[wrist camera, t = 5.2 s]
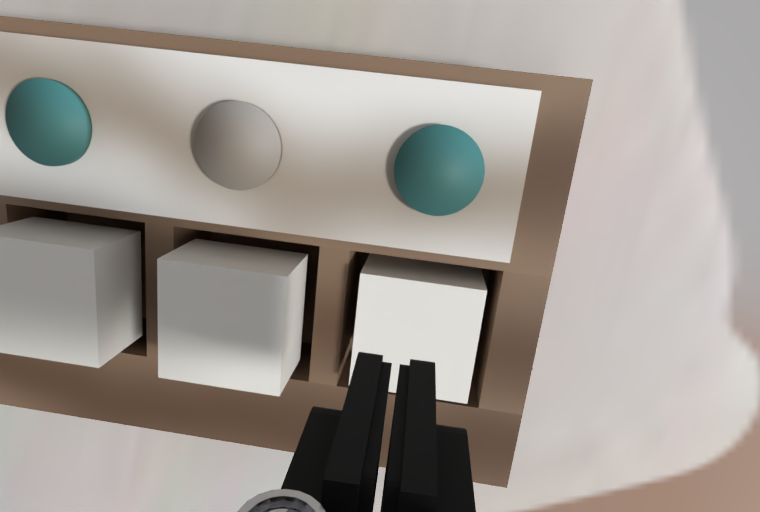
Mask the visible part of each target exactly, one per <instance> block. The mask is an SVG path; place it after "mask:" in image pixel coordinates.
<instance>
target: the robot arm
mask: <svg viewBox="0 0 760 512" xmlns="http://www.w3.org/2000/svg"><path fill="white" fill-rule="evenodd" d="M391 367H392V363H388V362H383V355H379V354H372V353H364V352H358V355H357V359H356V363H355V366H354V370H353V373H352V377H351V380H350V384H349V388H348V391H347V395H346V398H345V402H344V406H343V409H342V410H337V409H330V408H323V407H316V406H313V407H312V409H311V411H310V414H309V416H308V419H307V422H306V424H305V427H304V429H303V432H302V435H301V437H300V440H299V443H298V445H297V448H296V451H295V453H294V456H293V459H292V461H291V464H290V466H289V469H288V472H287V474H286V477H285V480H284V482H283V485H282V488H281V489H279V490H271V491H267V492H264V493H261V494H258V495H257V496H255V497H253V498H252V499H250V500H248V501H247V502H246V503H245V504H244V505H243V506H242V507H241V508H240V509H239V510H238V512H373V505H374V498H375V490H376V483H377V476H378V468H379V461H380V453H381V445H382V437H383V429H384V421H385V414H386V406H387V398H388V390H389V382H390V375H391ZM381 512H476V509H475V500H474V491H473V481H472V472H471V463H470V454H469V444H468V435H467V430H466V429H465V428H459V427H452V426H445V425H438V424H436V374H435V362H428V361H421V360H414V359H410V364H409V365H402V364H400V367H399V374H398V382H397V389H396V397H395V404H394V412H393V419H392V427H391V434H390V442H389V449H388V457H387V464H386V472H385V480H384V488H383V496H382V505H381Z"/></svg>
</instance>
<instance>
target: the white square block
mask: <svg viewBox="0 0 760 512" xmlns="http://www.w3.org/2000/svg"><path fill="white" fill-rule="evenodd" d="M486 295H487V288H486V284H485V281H484V277H483V273H482V270H481V268H477V267H469V266H462V265H455V264H447V263H440V262H432V261H425V260H418V259H410V258H403V257H395V256H388V255H381V254H373V253H370V254H369V256H368V258H367V260H366V262H365V264H364V266H363V269H362V271H361V273H360V280H359V290H358V299H357V309H356V319H355V328H354V338H353V347H352V357H351V366H350V376H349V384H350V380H351V377H352V373H353V370H354V366H355V363H356V359H357V355H358V352H364V353H372V354H379V355H383V362H388V363H392V367H391V375H390V382H389V390H388V392H393V393H396V389H397V382H398V374H399V367H400V364H402V365H409V364H410V359H414V360H421V361H428V362H435V374H436V399H439V400H445V401H451V402H458V403H464V404H467V403H468V397H469V392H470V386H471V380H472V375H473V369H474V363H475V358H476V352H477V346H478V341H479V335H480V329H481V324H482V318H483V312H484V307H485V301H486Z"/></svg>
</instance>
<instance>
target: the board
mask: <svg viewBox="0 0 760 512" xmlns="http://www.w3.org/2000/svg"><path fill="white" fill-rule="evenodd" d="M592 81H593V80H592V79H583V78H573V77H564V76H555V75H545V74H536V73H527V72H517V71H508V70H499V69H489V68H480V67H471V66H462V65H452V64H443V63H434V62H424V61H415V60H406V59H396V58H387V57H378V56H368V55H359V54H350V53H341V52H331V51H322V50H313V49H303V48H294V47H285V46H275V45H266V44H257V43H247V42H238V41H229V40H220V39H210V38H201V37H192V36H182V35H173V34H164V33H154V32H145V31H136V30H126V29H117V28H108V27H99V26H89V25H80V24H71V23H61V22H52V21H43V20H33V19H24V18H15V17H5V16H0V225H3V224H6V223H10V222H14V221H18V220H22V219H26V218H30V217H41V218H48V219H55V220H63V221H70V222H77V223H85V224H92V225H99V226H107V227H114V228H121V229H128V230H136V231H141V276H142V336H141V337H140V338H138V339H137V340H136V341H134V342H133V343H132V344H130V345H129V346H128V347H126V348H125V349H124V350H122V351H121V352H120V353H118V354H117V355H116V356H115V357H113V358H112V359H111V360H109V361H108V362H107V363H105V364H104V365H103V366H101V367H100V368H95V367H88V366H82V365H76V364H69V363H63V362H57V361H50V360H44V359H38V358H31V357H25V356H19V355H12V354H6V353H0V404H4V405H10V406H16V407H22V408H28V409H34V410H40V411H46V412H53V413H59V414H65V415H71V416H77V417H83V418H89V419H95V420H101V421H107V422H113V423H119V424H125V425H131V426H137V427H143V428H149V429H155V430H161V431H167V432H174V433H180V434H186V435H192V436H198V437H204V438H210V439H216V440H222V441H228V442H234V443H240V444H246V445H252V446H258V447H264V448H270V449H276V450H282V451H288V452H295V451H296V448H297V445H298V443H299V440H300V437H301V435H302V432H303V429H304V427H305V424H306V422H307V419H308V416H309V414H310V411H311V409H312V407H313V406H316V407H323V408H330V409H337V410H342V409H343V406H344V402H345V398H346V395H347V391H348V388H349V376H350V366H351V357H352V347H353V338H354V328H355V319H356V309H357V299H358V290H359V280H360V273H361V271H362V269H363V266H364V264H365V262H366V260H367V258H368V256H369V254H370V253H373V254H381V255H388V256H395V257H403V258H410V259H418V260H425V261H432V262H440V263H447V264H455V265H462V266H469V267H477V268H481V270H482V273H483V277H484V281H485V284H486V288H487V295H486V301H485V307H484V312H483V318H482V324H481V329H480V335H479V341H478V346H477V352H476V358H475V363H474V369H473V375H472V380H471V386H470V392H469V397H468V403H467V404H464V403H458V402H451V401H445V400H439V399H436V424H438V425H445V426H452V427H459V428H465V429H466V430H467V435H468V444H469V454H470V463H471V472H472V481H473V482H476V483H482V484H488V485H494V486H500V487H506V488H507V484H508V480H509V475H510V470H511V465H512V461H513V456H514V451H515V446H516V442H517V437H518V432H519V428H520V423H521V418H522V413H523V409H524V404H525V399H526V394H527V390H528V385H529V380H530V375H531V371H532V366H533V361H534V356H535V352H536V347H537V342H538V337H539V333H540V328H541V323H542V318H543V314H544V309H545V304H546V299H547V295H548V290H549V285H550V281H551V276H552V271H553V266H554V262H555V257H556V252H557V247H558V243H559V238H560V233H561V228H562V224H563V219H564V214H565V209H566V205H567V200H568V195H569V190H570V186H571V181H572V176H573V171H574V167H575V162H576V157H577V152H578V148H579V143H580V138H581V134H582V129H583V124H584V119H585V115H586V110H587V105H588V100H589V96H590V91H591V86H592ZM194 239H202V240H209V241H216V242H224V243H231V244H238V245H246V246H253V247H260V248H267V249H275V250H282V251H289V252H297V253H304V254H308V262H307V275H306V289H305V302H304V315H303V329H302V342H301V356H300V361H299V362H298V364H297V366H296V368H295V370H294V371H293V373H292V375H291V377H290V379H289V380H288V382H287V384H286V386H285V387H284V389H283V391H282V393H281V395H280V396H272V395H266V394H260V393H253V392H247V391H241V390H234V389H228V388H222V387H215V386H209V385H203V384H196V383H190V382H184V381H177V380H171V379H165V378H158V301H157V259H158V258H160V257H161V256H163V255H165V254H167V253H169V252H171V251H173V250H175V249H177V248H179V247H181V246H183V245H184V244H186V243H188V242H190V241H192V240H194ZM395 397H396V393H393V392H388V398H387V406H386V414H385V421H384V429H383V437H382V445H381V453H380V461H379V467H385V468H386V464H387V457H388V449H389V442H390V434H391V427H392V419H393V412H394V404H395Z"/></svg>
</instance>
